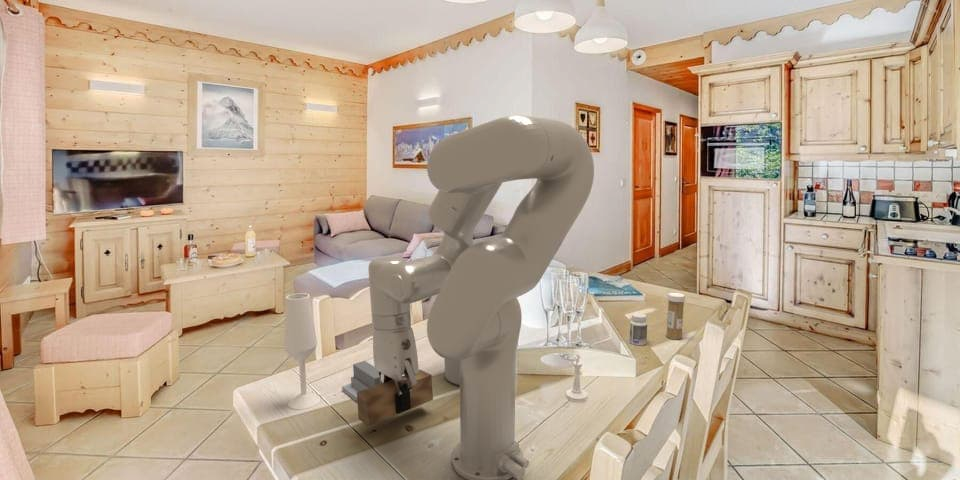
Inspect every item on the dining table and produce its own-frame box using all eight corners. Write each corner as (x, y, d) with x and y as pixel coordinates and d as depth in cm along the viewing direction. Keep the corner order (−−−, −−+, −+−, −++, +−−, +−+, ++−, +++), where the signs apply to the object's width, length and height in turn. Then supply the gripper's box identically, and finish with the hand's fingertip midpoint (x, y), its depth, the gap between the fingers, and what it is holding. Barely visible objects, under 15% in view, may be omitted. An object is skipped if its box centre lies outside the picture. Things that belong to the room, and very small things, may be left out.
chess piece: (590, 395, 108) (592, 353, 107) (582, 404, 104) (584, 360, 103) (570, 389, 111) (571, 348, 109) (561, 398, 107) (563, 355, 105)
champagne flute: (325, 394, 109) (319, 292, 105) (312, 409, 102) (305, 301, 98) (297, 393, 109) (290, 291, 105) (282, 408, 103) (274, 300, 99)
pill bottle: (649, 343, 139) (651, 315, 138) (638, 346, 137) (640, 318, 135) (636, 338, 143) (638, 311, 142) (625, 341, 141) (627, 314, 139)
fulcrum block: (399, 397, 107) (399, 372, 106) (367, 410, 102) (366, 383, 101) (373, 380, 116) (372, 356, 115) (342, 390, 111) (341, 365, 110)
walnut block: (422, 393, 103) (420, 369, 103) (432, 399, 100) (431, 374, 100) (358, 419, 93) (356, 392, 93) (368, 426, 90) (366, 399, 90)
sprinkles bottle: (683, 340, 142) (686, 296, 139) (667, 339, 142) (670, 295, 140) (679, 335, 146) (682, 292, 144) (664, 334, 147) (666, 291, 145)
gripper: (431, 324, 91) (436, 415, 93) (386, 308, 103) (391, 388, 105) (398, 333, 86) (404, 429, 88) (354, 315, 98) (360, 400, 101)
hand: (397, 406), depth 97 cm, fingers closed on walnut block, 4 cm apart
